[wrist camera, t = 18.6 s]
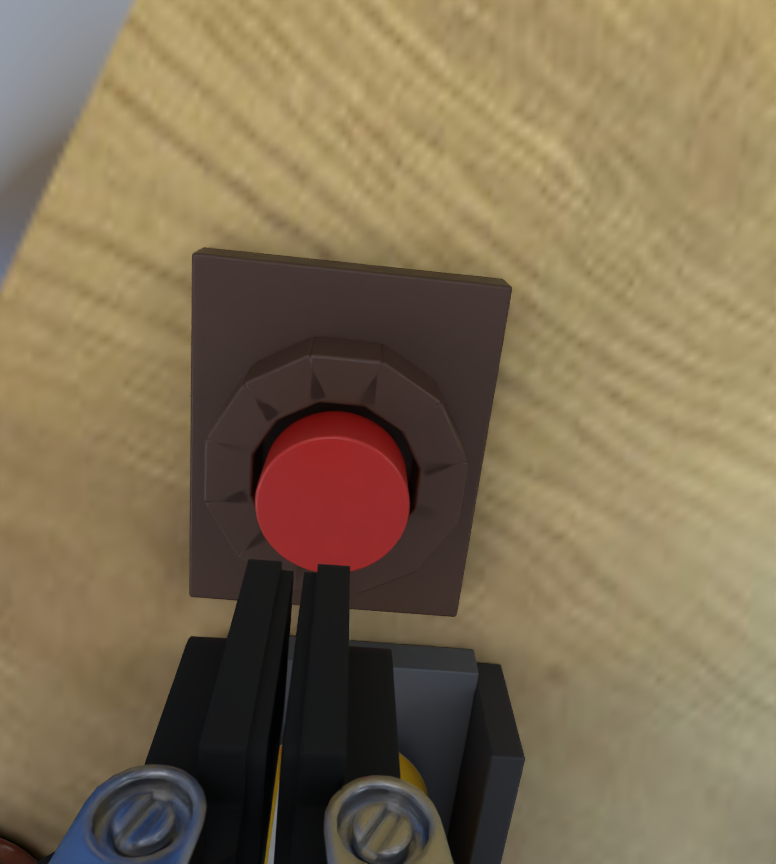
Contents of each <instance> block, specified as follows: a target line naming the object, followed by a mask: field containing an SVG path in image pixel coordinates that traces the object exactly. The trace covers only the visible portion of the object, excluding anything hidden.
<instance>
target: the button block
mask: <svg viewBox="0 0 776 864" xmlns="http://www.w3.org/2000/svg"><path fill="white" fill-rule="evenodd" d="M511 292H512V287H511V286H510V285H509V284H508V283H507V282H506V281H505V280H503V279H497V278H488V277H478V276H469V275H460V274H450V273H441V272H431V271H422V270H412V269H403V268H394V267H384V266H375V265H365V264H356V263H346V262H337V261H328V260H318V259H309V258H299V257H290V256H280V255H271V254H262V253H252V252H243V251H233V250H224V249H214V248H202V249H200V250H198V251H196V252H195V253H193V255H192V331H191V453H190V576H189V594H190V596H191V597H200V598H213V599H226V600H238V597H239V593H240V589H241V585H242V582H243V578H244V574H245V570H246V567H247V563H248V560H249V559H259V560H273V561H282V570H290V571H294V580H293V595H292V605H300V601H301V593H302V585H303V577H304V572H315V571H311V570H307V569H305V568H302V567H299V566H297V565H295V564H293V563H292V562H290V561H288V560H287V559H285V558H284V557H282V556H281V555H280V554H279V553H278V552H277V551H276V550H275V549H274V548H273V547H272V546H271V545H270V544H269V542H268V541H267V539H266V538H265V536H264V535H263V533H262V531H261V529H260V527H259V524H258V521H257V517H256V512H255V494H256V489H257V485H258V481H259V478H260V476H261V473H262V470H263V467H264V464H265V461H266V458H267V455H268V453H269V450H270V448H271V446H272V445H273V443H274V441H275V440H276V438H277V437H278V436H279V435H280V434H281V433H282V432H283V431H284V430H285V429H286V428H287V427H288V426H290V425H291V424H293V423H294V422H295V421H297V420H299V419H301V418H303V417H306V416H309V415H311V414H315V413H320V412H327V411H343V412H349V413H353V414H357V415H360V416H363V417H365V418H367V419H370V420H371V421H373V422H375V423H376V424H378V425H379V426H381V427H382V428H383V429H384V430H385V431H386V432H387V433H388V434H389V435H390V436H391V437H392V438H393V439H394V441H395V442H396V443H397V445H398V447H399V449H400V451H401V453H402V456H403V458H404V462H405V466H406V473H407V482H408V490H409V500H410V510H409V517H408V522H407V525H406V527H405V530H404V532H403V534H402V536H401V538H400V539H399V541H398V542H397V543H396V545H395V546H394V547H393V548H392V549H391V550H390V551H389V552H388V553H387V554H386V555H385V556H384V557H382V558H381V559H380V560H378V561H376V562H375V563H373V564H371V565H369V566H367V567H365V568H362V569H359V570H356V571H351V572H350V599H349V609H358V610H371V611H385V612H398V613H411V614H424V615H437V616H450V617H455V616H456V615H457V610H458V604H459V598H460V592H461V586H462V581H463V575H464V569H465V563H466V557H467V551H468V545H469V539H470V533H471V528H472V522H473V516H474V510H475V504H476V498H477V492H478V486H479V480H480V475H481V469H482V463H483V457H484V451H485V445H486V439H487V433H488V428H489V422H490V416H491V410H492V404H493V398H494V392H495V386H496V380H497V375H498V369H499V363H500V357H501V351H502V345H503V339H504V333H505V328H506V322H507V316H508V310H509V304H510V298H511Z"/></svg>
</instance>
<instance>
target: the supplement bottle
mask: <svg viewBox="0 0 776 864" xmlns="http://www.w3.org/2000/svg"><path fill="white" fill-rule="evenodd" d="M37 862H38V861H36V860H35V859H34V858H33V857H32V856H31V855H30V854H29V853H27V852H26V851H25V850H23V849H21V848H20V847H18V846H17V845H15V844H13V843H10V842H8V841H7V840H4V839H2V838H0V864H36V863H37Z"/></svg>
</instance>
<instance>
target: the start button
mask: <svg viewBox="0 0 776 864" xmlns="http://www.w3.org/2000/svg"><path fill="white" fill-rule="evenodd" d="M409 510H410V500H409V490H408V482H407V473H406V466H405V462H404V458H403V456H402V453H401V451H400V449H399V447H398V445H397V443H396V442H395V441H394V439H393V438H392V437H391V436H390V435H389V434H388V433H387V432H386V431H385V430H384V429H383V428H382V427H381V426H379V425H378V424H376V423H375V422H373V421H371V420H370V419H367V418H365V417H363V416H360V415H357V414H353V413H349V412H343V411H327V412H320V413H315V414H311V415H309V416H306V417H303V418H301V419H299V420H297V421H295V422H294V423H293V424H291V425H290V426H288V427H287V428H286V429H285V430H284V431H283V432H282V433H281V434H280V435H279V436H278V437H277V438H276V440H275V441H274V443H273V445H272V446H271V448H270V450H269V453H268V455H267V458H266V461H265V464H264V467H263V470H262V473H261V476H260V478H259V481H258V485H257V489H256V494H255V512H256V517H257V521H258V524H259V527H260V529H261V531H262V533H263V535H264V536H265V538H266V539H267V541H268V542H269V544H270V545H271V546H272V547H273V548H274V549H275V550H276V551H277V552H278V553H279V554H280V555H281V556H282V557H284V558H285V559H287V560H288V561H290V562H292V563H293V564H295V565H297V566H299V567H302V568H305V569H307V570H311V571H315V572H317V568H318V564H329V565H343V566H350V572H351V571H356V570H359V569H362V568H365V567H367V566H369V565H371V564H373V563H375V562H376V561H378V560H380V559H381V558H382V557H384V556H385V555H386V554H387V553H388V552H389V551H390V550H391V549H392V548H393V547H394V546H395V545H396V543H397V542H398V541H399V539H400V538H401V536H402V534H403V532H404V530H405V527H406V525H407V522H408V517H409Z"/></svg>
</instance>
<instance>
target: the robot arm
mask: <svg viewBox="0 0 776 864" xmlns="http://www.w3.org/2000/svg"><path fill="white" fill-rule="evenodd" d="M293 580H294V571H290V570H282V561H273V560H259V559H249V560H248V563H247V567H246V570H245V574H244V578H243V582H242V585H241V589H240V593H239V597H238V600H237V604H236V608H235V612H234V615H233V619H232V623H231V627H230V630H229V634H228V638H211V637H195V636H191V637H190V638H189V639H188V642H187V644H186V646H185V649H184V652H183V655H182V658H181V661H180V664H179V667H178V669H177V672H176V675H175V678H174V681H173V684H172V687H171V690H170V693H169V695H168V698H167V701H166V704H165V707H164V710H163V713H162V716H161V719H160V721H159V724H158V727H157V730H156V733H155V736H154V739H153V742H152V744H151V747H150V750H149V753H148V756H147V759H146V762H145V765H143V766H138V767H133V768H130V769H127V770H125V771H123V772H121V773H118V774H116V775H114V776H112V777H111V778H109V779H108V780H107V781H105V782H104V783H103V784H101V785H100V786H99V787H97V788H96V790H95V791H94V792H93V793H92V795H91V796H90V797H89V798H88V799H87V801H86V802H85V803H84V805H83V807H82V808H81V810H80V812H79V813H78V815H77V817H76V818H75V820H74V822H73V823H72V825H71V826H70V828H69V830H68V831H67V833H66V835H65V836H64V838H63V840H62V841H61V843H60V845H59V846H58V848H57V850H56V851H55V852H53V853H52V854H50V855H49V856H47V857H45V858H44V859H42V860H40V861H39V862H37V863H36V864H264V863H265V856H266V848H267V840H268V833H269V825H270V817H271V810H272V802H273V794H274V787H275V779H276V771H277V764H278V756H279V749H280V741H281V733H282V726H283V717H284V708H285V696H286V681H287V667H288V653H289V638H290V624H291V609H292V595H293ZM349 599H350V566H343V565H329V564H318V568H317V572H304V577H303V585H302V593H301V601H300V608H299V616H298V624H297V632H296V640H295V648H294V656H293V664H292V671H291V679H290V687H289V695H288V703H287V711H286V719H285V726H284V735H283V743H282V753H281V764H280V778H279V792H278V806H277V821H276V835H275V850H274V864H456V863H455V862H454V861H453V859H452V856H451V853H450V849H449V846H448V842H447V839H446V835H445V832H444V829H443V825H442V822H441V818H440V816H439V814H438V812H437V810H436V808H435V806H434V804H433V802H432V801H431V800H430V799H429V798H428V797H427V796H426V795H425V793H424V792H423V791H422V790H420V789H419V788H417V787H415V786H414V785H412V784H411V783H409V782H408V781H405V780H402V779H401V776H400V761H399V747H398V732H397V717H396V703H395V688H394V673H393V658H392V651H391V649H387V648H371V647H355V646H349Z"/></svg>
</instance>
